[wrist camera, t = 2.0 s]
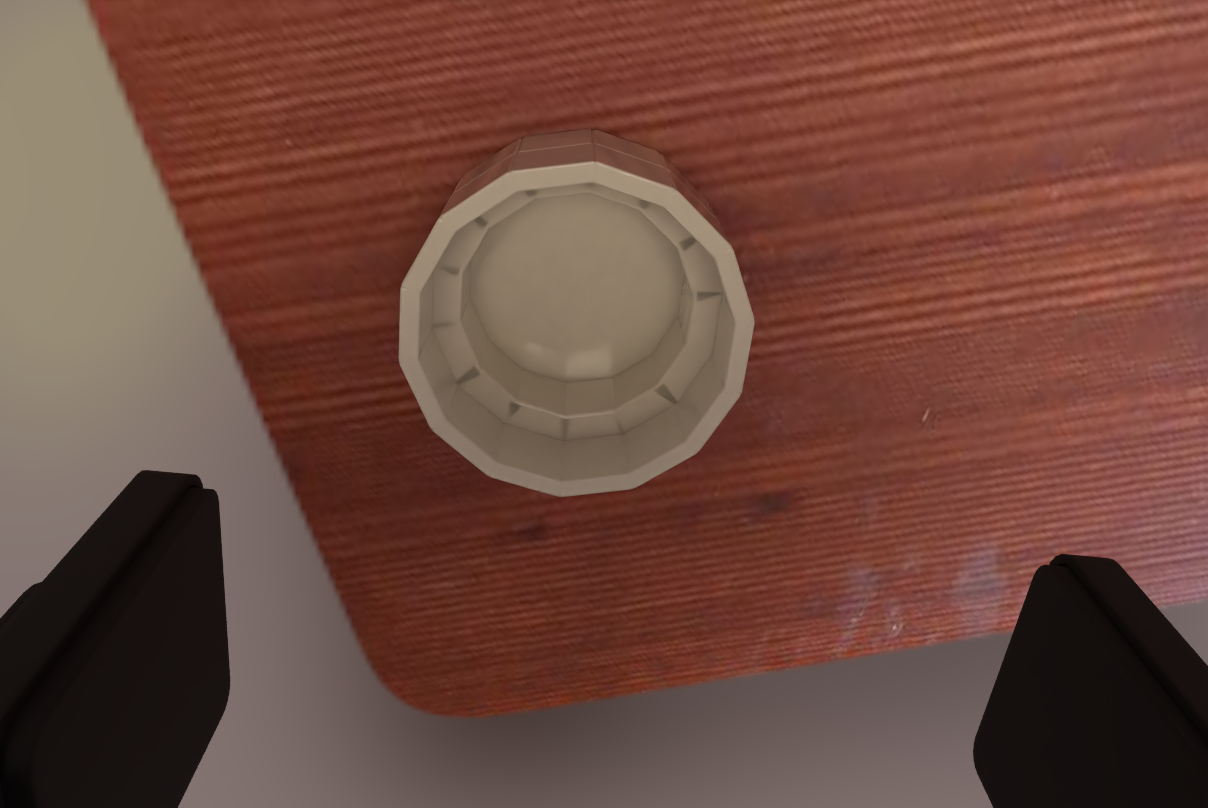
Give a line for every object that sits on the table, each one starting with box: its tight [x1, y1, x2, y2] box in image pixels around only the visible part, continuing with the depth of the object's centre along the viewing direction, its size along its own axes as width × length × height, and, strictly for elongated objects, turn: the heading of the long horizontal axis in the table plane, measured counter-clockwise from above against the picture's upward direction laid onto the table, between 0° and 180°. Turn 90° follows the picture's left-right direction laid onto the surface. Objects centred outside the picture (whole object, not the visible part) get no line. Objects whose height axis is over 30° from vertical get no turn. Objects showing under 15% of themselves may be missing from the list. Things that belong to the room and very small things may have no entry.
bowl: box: [399, 129, 755, 497], centre depth 21 cm, size 7×7×4 cm
